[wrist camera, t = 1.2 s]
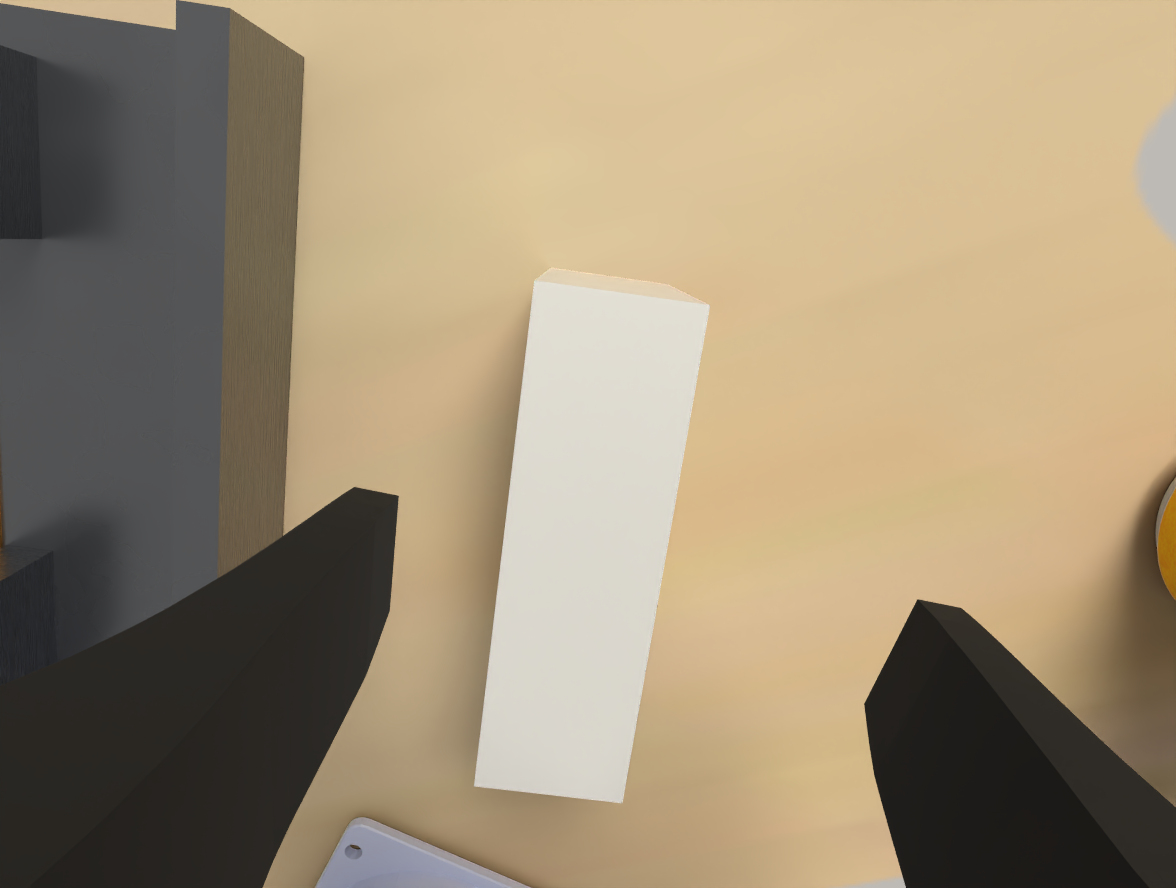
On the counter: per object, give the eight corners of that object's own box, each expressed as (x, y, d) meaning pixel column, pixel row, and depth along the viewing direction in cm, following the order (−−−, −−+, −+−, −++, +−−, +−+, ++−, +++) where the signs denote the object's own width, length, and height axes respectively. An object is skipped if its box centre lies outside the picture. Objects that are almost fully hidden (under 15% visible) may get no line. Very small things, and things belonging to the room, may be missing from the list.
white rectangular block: (610, 634, 22) (622, 803, 16) (507, 621, 22) (473, 786, 16) (667, 283, 20) (710, 305, 13) (551, 267, 20) (533, 280, 13)
